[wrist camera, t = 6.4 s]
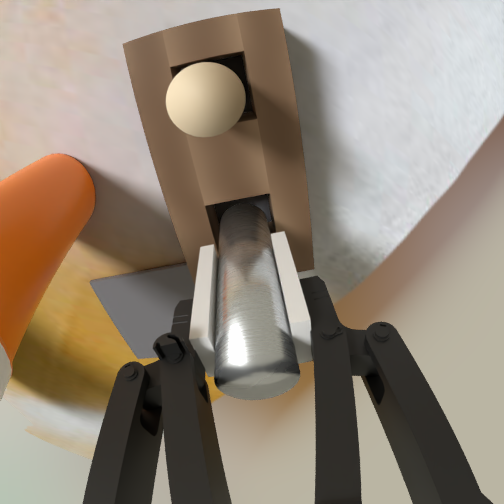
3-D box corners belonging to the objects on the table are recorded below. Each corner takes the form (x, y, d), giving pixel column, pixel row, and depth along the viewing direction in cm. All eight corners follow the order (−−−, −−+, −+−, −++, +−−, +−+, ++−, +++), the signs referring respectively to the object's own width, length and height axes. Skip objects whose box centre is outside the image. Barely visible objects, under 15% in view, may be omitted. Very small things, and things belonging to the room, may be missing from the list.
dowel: (200, 113, 19) (176, 145, 11) (191, 74, 18) (158, 73, 9) (242, 104, 19) (252, 128, 11) (234, 64, 18) (237, 54, 9)
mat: (138, 356, 33) (137, 358, 33) (90, 280, 27) (89, 282, 26) (234, 345, 33) (235, 348, 32) (205, 258, 26) (205, 261, 26)
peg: (225, 248, 22) (225, 403, 12) (215, 208, 20) (203, 362, 10) (270, 240, 21) (302, 392, 11) (263, 199, 20) (297, 347, 10)
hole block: (200, 259, 26) (196, 290, 23) (141, 48, 16) (122, 43, 13) (303, 240, 26) (314, 269, 22) (270, 19, 16) (279, 8, 12)
